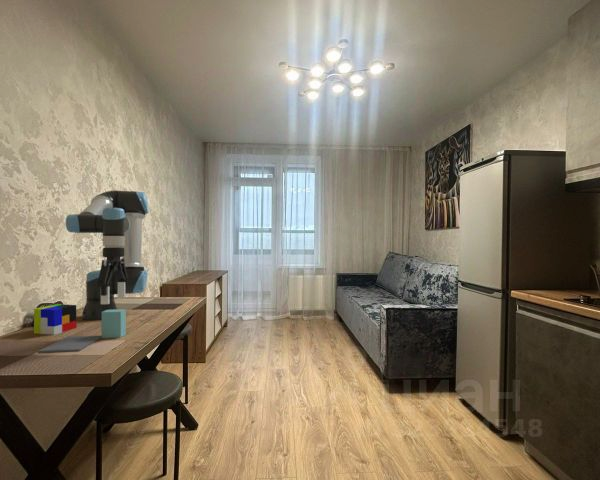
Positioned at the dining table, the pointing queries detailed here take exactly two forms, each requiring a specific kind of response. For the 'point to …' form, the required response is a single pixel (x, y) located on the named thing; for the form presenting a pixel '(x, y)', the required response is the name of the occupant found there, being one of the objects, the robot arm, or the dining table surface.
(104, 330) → the teal block
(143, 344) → the dining table surface
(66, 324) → the puzzle toy
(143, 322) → the dining table surface
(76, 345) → the rubber mat
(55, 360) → the dining table surface
